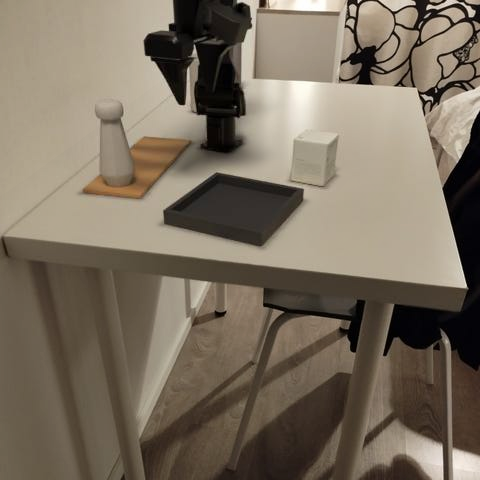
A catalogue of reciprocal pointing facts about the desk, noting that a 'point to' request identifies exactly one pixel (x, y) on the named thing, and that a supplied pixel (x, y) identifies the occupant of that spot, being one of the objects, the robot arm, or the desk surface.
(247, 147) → the desk surface
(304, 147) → the product box
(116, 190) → the wooden board
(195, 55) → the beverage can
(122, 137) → the salt shaker
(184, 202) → the tray
